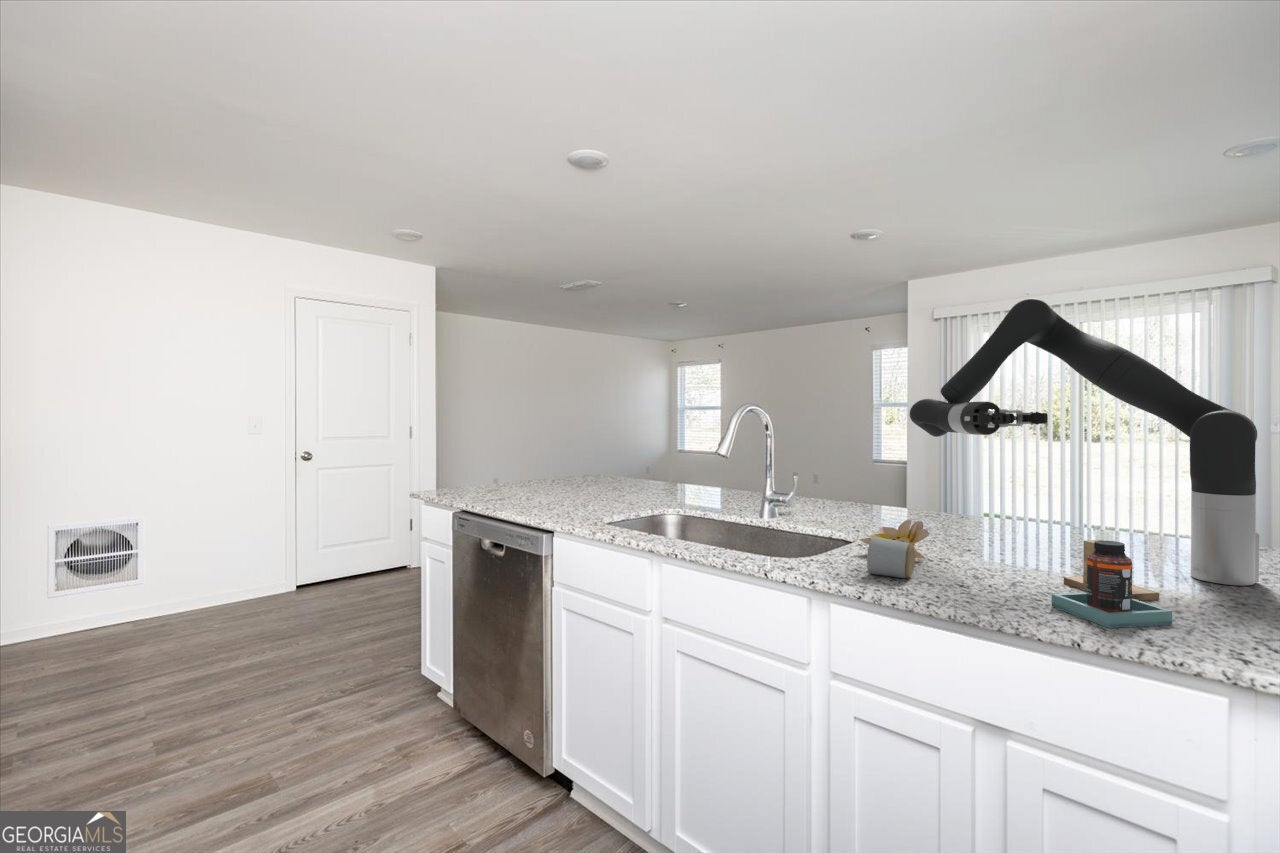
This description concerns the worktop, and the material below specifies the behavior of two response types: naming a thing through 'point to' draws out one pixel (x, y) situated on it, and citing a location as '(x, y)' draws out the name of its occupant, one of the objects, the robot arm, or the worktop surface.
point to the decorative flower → (903, 534)
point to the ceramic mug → (890, 558)
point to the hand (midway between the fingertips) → (1027, 418)
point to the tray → (1138, 617)
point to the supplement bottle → (1109, 577)
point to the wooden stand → (1081, 581)
